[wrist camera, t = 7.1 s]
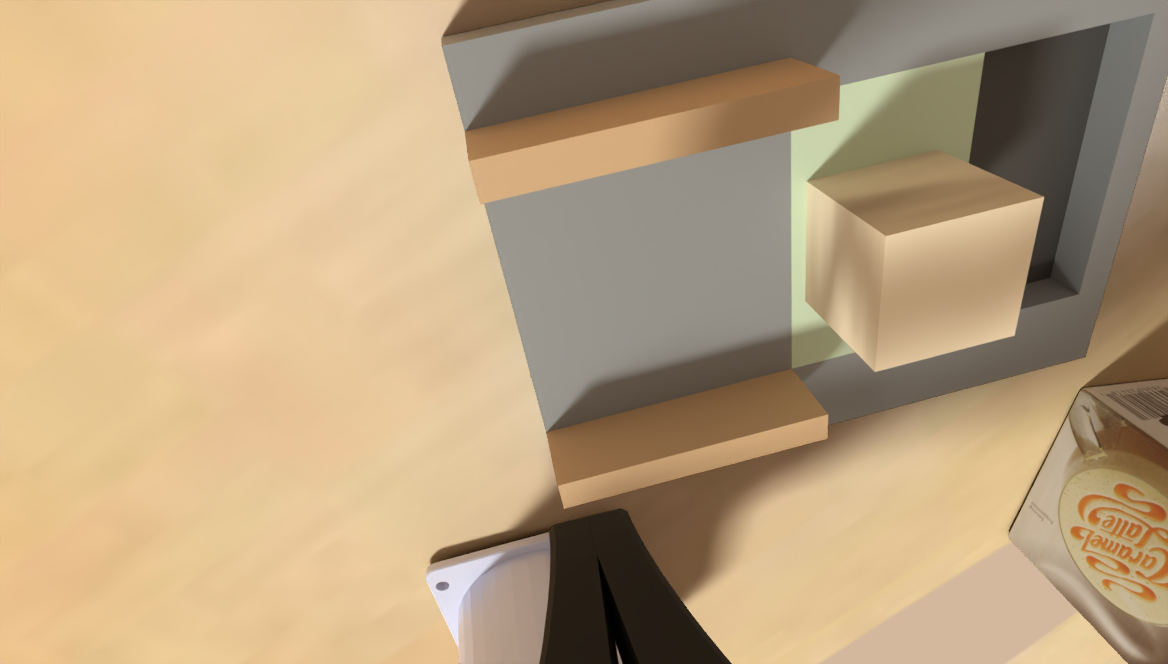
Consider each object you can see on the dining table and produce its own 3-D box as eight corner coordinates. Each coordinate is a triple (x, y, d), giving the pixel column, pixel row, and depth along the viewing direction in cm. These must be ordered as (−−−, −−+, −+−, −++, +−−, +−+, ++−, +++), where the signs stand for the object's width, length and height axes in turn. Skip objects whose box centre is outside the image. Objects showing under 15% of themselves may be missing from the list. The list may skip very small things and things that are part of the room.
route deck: (1053, 336, 26) (1145, 396, 23) (557, 466, 25) (575, 551, 21) (1170, -122, 18) (1340, -133, 15) (441, 36, 17) (442, 64, 13)
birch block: (923, 271, 21) (1014, 335, 18) (805, 301, 21) (875, 372, 18) (937, 149, 19) (1044, 196, 16) (806, 181, 19) (885, 235, 16)
